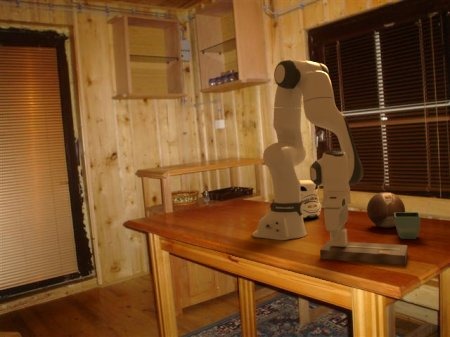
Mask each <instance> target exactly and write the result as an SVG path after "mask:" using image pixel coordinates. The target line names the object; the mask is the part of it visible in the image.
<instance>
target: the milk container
mask: <svg viewBox="0 0 450 337" xmlns="http://www.w3.org/2000/svg"><path fill="white" fill-rule="evenodd" d="M298 180H299V179H298ZM299 181H300V188H301V201H302V205H303V214H302V216H303V220H311V219H315V218H318V217H319V216H320V215H321V211H322V205H321V203H320V199H319V186H317V185H316V184H314V183H313V182H312V181H311V179H309V180H308V179H305V180H303V179H302V180H301V179H300V180H299Z"/></svg>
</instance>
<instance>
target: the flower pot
mask: <svg viewBox="0 0 450 337" xmlns="http://www.w3.org/2000/svg"><path fill="white" fill-rule="evenodd" d="M394 216H395V223H396V226H395V228H396V232H397V234H398V237H400V239H402V240H416V239H417V237H418V236H419V233H420V230H421V229H420V228H421V214H420V212H417V211H416V212H413V211H412V212H411V211H410V212H407V211H405V212H396V213H394Z"/></svg>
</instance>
